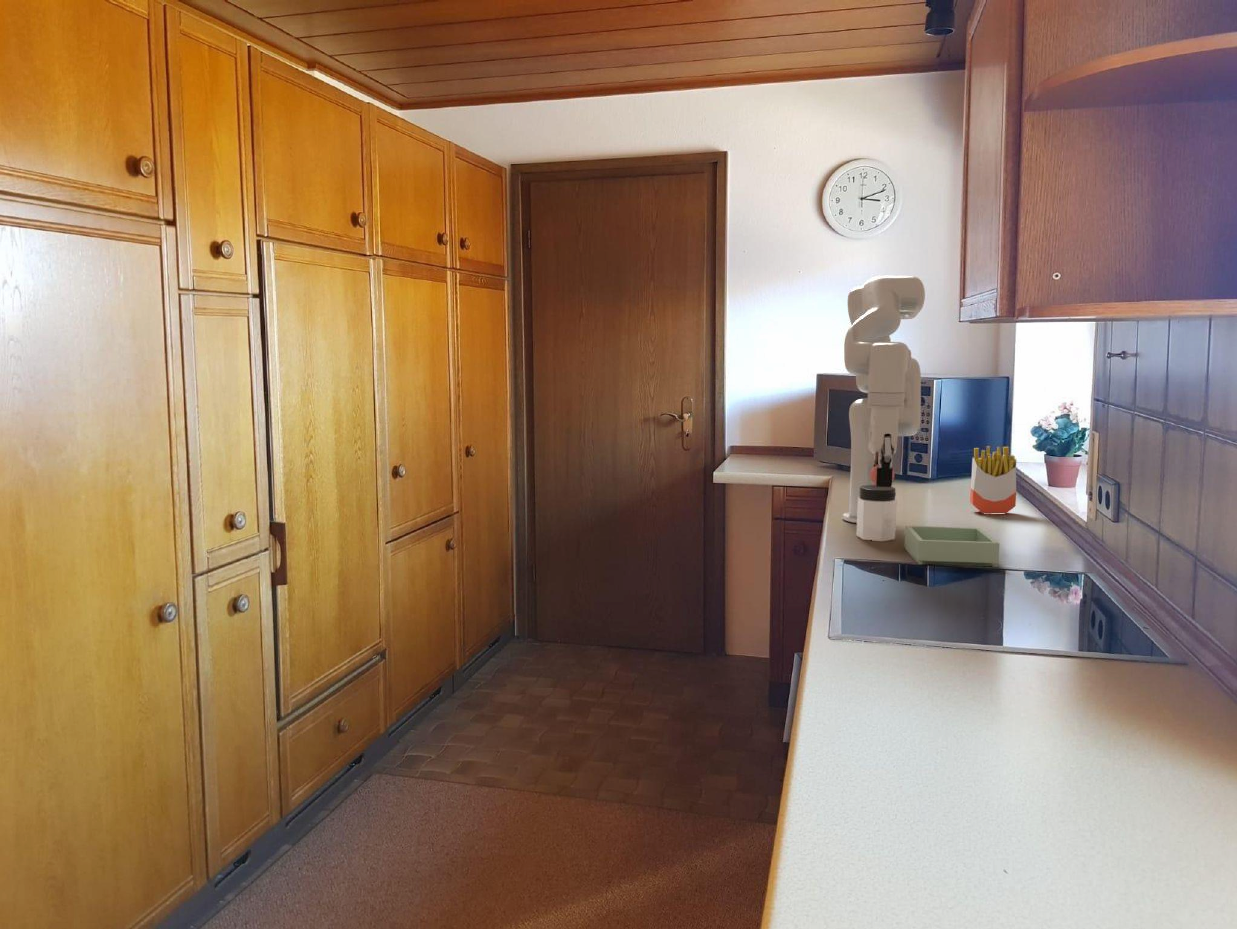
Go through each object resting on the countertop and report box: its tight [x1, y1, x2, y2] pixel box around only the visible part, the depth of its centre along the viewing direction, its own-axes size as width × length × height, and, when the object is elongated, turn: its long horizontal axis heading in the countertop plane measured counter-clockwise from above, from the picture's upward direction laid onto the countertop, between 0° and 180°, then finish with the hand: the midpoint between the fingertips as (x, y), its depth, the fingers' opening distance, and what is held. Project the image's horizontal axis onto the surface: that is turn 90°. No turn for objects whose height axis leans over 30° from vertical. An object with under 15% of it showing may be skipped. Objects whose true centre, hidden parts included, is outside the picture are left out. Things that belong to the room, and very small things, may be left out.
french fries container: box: [969, 445, 1017, 514], centre depth 251 cm, size 5×11×18 cm, turn 79°
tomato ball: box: [871, 465, 895, 485], centre depth 202 cm, size 5×5×5 cm
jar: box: [855, 485, 898, 543], centre depth 219 cm, size 9×8×12 cm
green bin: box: [904, 525, 1000, 568], centre depth 200 cm, size 16×16×5 cm
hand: (882, 483), depth 202 cm, fingers closed on tomato ball, 4 cm apart
